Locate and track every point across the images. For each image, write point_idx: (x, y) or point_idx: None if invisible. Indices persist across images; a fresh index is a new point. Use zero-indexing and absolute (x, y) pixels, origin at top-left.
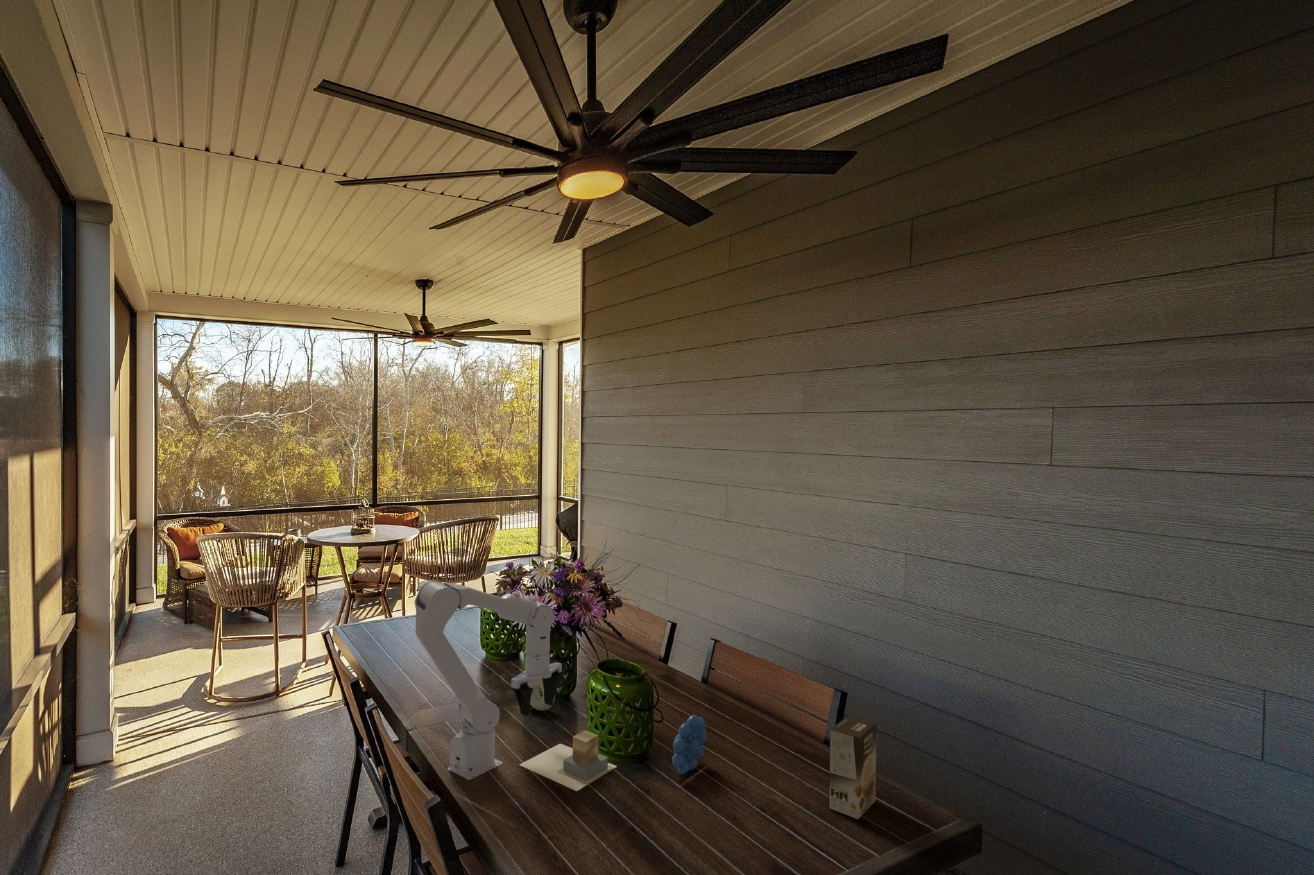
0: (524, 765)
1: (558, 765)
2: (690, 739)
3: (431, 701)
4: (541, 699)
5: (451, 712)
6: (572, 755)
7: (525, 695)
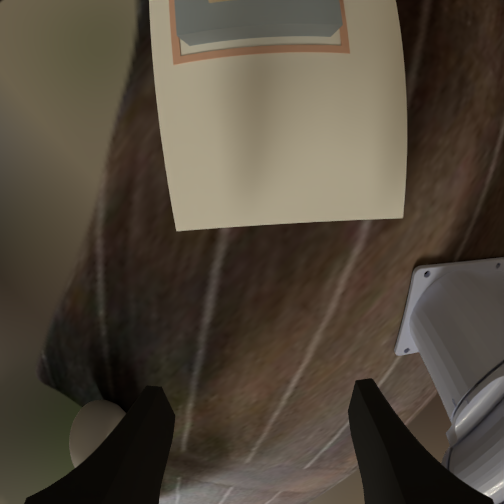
0: (397, 197)
1: (312, 84)
2: None
3: (269, 497)
4: (111, 429)
5: (274, 478)
6: (278, 20)
7: (472, 489)
